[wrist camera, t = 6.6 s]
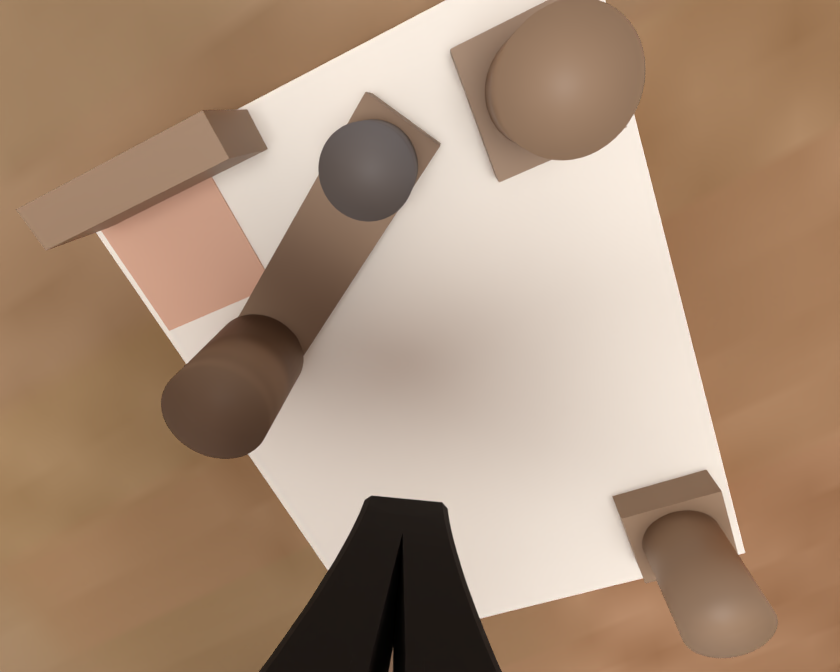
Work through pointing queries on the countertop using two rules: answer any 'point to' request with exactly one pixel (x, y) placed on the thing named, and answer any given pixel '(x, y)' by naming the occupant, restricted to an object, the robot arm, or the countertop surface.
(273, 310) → the hinged leg
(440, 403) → the white board with posts
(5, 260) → the countertop surface
